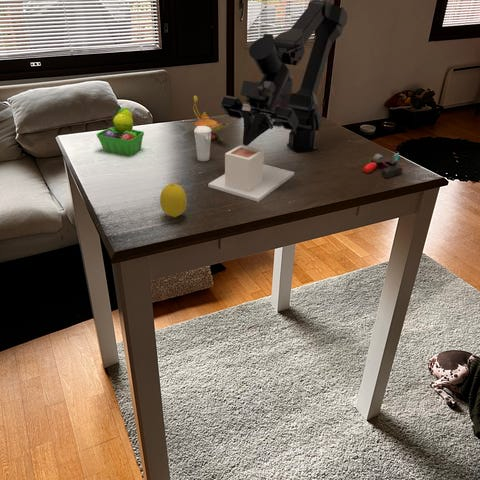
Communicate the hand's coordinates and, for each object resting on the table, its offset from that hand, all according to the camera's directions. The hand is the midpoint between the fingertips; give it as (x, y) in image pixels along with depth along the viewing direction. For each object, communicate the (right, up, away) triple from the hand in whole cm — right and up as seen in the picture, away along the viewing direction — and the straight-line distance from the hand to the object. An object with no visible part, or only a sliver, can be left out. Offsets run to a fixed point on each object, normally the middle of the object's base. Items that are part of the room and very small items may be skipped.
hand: (244, 144), depth 110 cm
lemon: (-15, -17, -8) cm, 24 cm away
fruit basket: (-34, +3, +25) cm, 42 cm away
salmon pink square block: (0, -4, +3) cm, 5 cm away
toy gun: (+35, -4, +16) cm, 39 cm away
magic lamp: (-10, +9, +34) cm, 36 cm away
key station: (+2, -7, +9) cm, 11 cm away
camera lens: (+11, +17, +48) cm, 52 cm away
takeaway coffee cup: (-11, 0, +20) cm, 23 cm away
